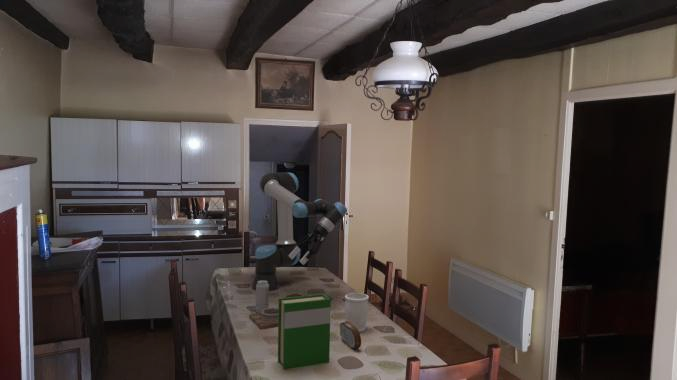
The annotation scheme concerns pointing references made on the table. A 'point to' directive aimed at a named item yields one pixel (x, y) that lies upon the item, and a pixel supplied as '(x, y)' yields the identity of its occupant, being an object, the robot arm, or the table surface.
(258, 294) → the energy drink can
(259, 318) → the mount
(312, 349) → the hardback book
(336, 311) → the table surface
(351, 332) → the tin
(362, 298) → the jar
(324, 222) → the robot arm
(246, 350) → the table surface
